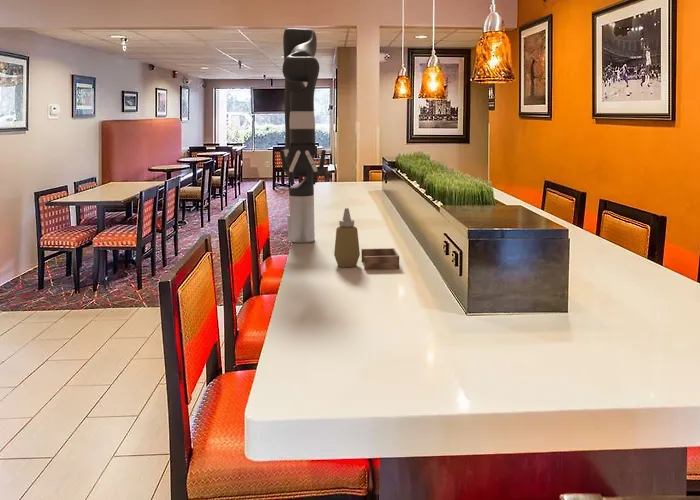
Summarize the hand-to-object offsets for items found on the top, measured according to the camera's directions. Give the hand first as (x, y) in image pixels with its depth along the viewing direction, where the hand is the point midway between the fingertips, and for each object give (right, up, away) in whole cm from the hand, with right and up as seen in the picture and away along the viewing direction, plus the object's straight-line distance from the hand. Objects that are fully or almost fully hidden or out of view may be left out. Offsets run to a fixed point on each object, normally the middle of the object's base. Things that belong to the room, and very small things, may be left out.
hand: (303, 184), depth 179 cm
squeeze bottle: (+13, -25, +6) cm, 29 cm away
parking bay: (+23, -24, +7) cm, 34 cm away
